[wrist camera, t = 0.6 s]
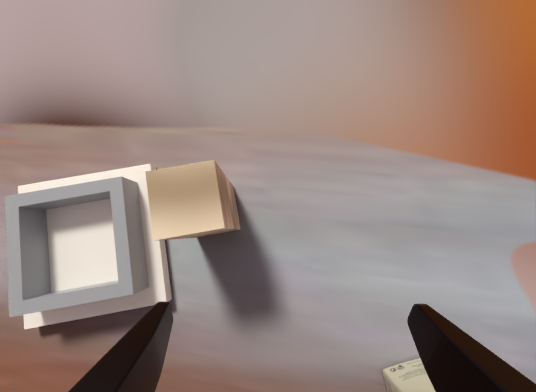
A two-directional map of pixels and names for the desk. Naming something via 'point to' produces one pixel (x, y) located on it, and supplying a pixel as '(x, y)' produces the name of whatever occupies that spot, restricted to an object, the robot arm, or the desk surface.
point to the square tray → (83, 248)
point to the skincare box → (407, 377)
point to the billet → (191, 201)
